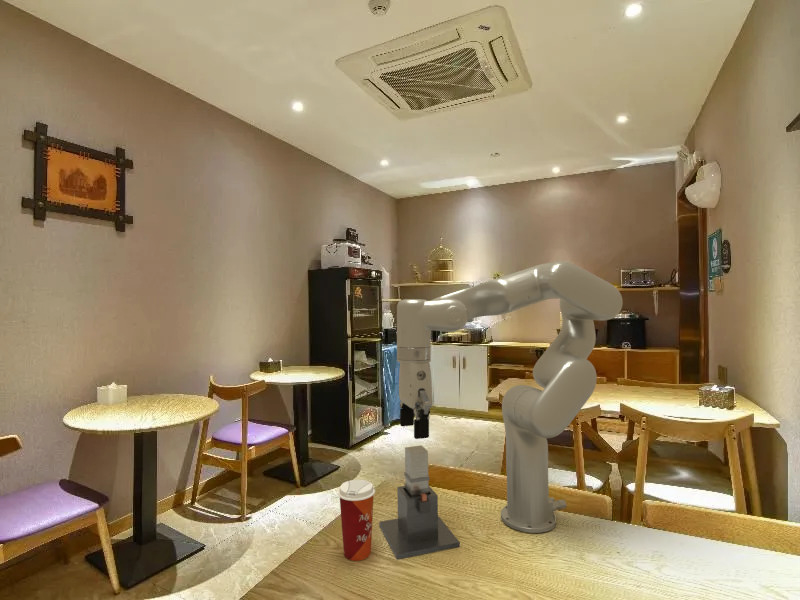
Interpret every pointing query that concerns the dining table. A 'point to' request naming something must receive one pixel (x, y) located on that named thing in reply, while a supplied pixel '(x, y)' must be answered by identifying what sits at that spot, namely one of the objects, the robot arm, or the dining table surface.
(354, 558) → the paper cup
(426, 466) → the column
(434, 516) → the stand base
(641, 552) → the dining table surface
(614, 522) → the dining table surface
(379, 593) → the dining table surface
